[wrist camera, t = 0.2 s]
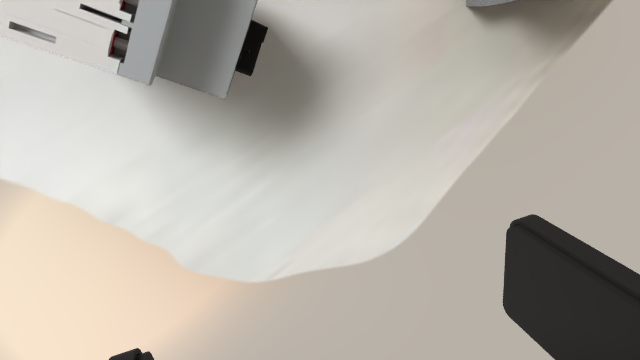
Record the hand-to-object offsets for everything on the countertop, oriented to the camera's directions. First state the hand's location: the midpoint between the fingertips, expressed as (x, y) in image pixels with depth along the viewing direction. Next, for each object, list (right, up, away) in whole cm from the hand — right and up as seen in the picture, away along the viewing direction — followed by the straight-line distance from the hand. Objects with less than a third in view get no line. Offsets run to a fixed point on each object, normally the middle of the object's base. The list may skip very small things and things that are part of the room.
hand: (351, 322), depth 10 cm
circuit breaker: (-14, +18, +23) cm, 32 cm away
